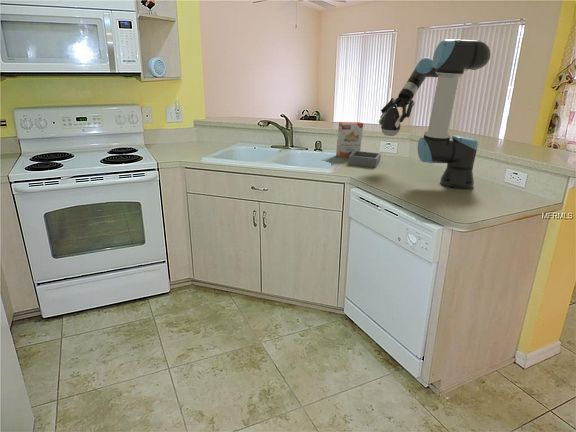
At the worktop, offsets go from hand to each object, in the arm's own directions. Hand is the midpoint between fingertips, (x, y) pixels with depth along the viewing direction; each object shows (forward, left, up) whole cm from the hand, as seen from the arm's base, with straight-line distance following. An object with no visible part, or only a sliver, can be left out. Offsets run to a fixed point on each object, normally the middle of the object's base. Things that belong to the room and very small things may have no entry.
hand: (387, 124), depth 211 cm
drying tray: (+7, +11, -24) cm, 27 cm away
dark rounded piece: (+3, -1, -6) cm, 7 cm away
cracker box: (+20, +24, -24) cm, 39 cm away
